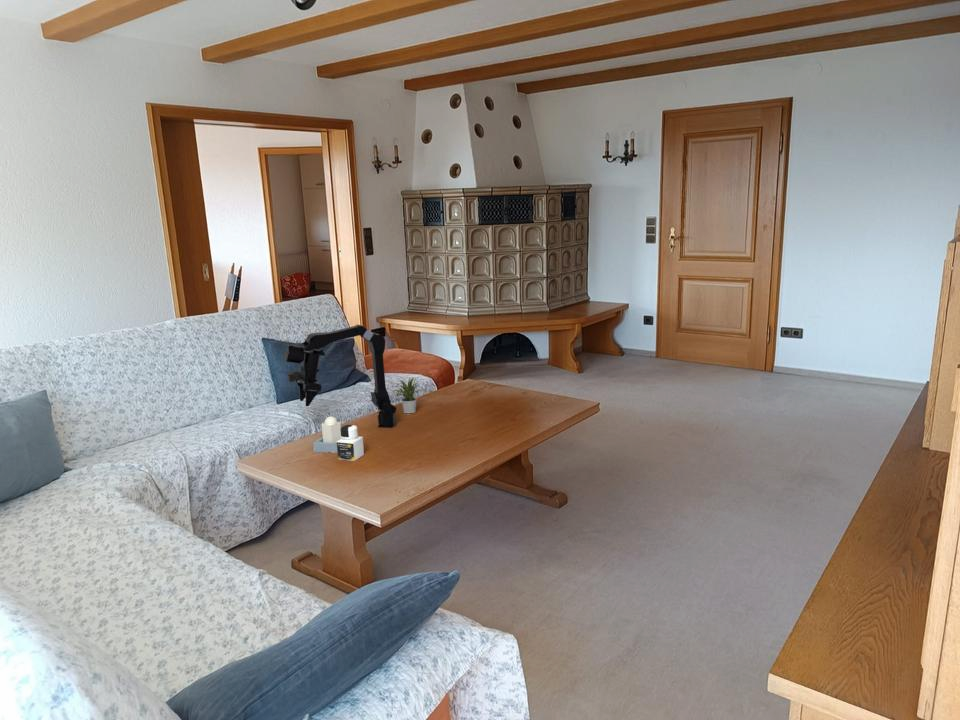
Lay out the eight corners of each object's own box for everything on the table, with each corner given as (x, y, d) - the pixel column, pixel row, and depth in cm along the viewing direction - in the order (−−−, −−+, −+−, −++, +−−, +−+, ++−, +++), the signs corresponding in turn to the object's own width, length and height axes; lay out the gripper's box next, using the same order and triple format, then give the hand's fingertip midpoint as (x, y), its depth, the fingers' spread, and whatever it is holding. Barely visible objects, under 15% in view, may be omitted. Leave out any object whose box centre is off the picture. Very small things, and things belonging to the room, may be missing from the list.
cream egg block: (333, 444, 259) (330, 414, 256) (342, 446, 256) (339, 415, 253) (323, 448, 255) (320, 417, 252) (332, 450, 252) (329, 419, 249)
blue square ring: (352, 443, 259) (351, 434, 259) (340, 453, 249) (339, 444, 248) (326, 442, 262) (325, 433, 261) (313, 451, 252) (312, 443, 251)
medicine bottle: (337, 459, 242) (334, 428, 240) (347, 453, 249) (345, 422, 246) (354, 461, 240) (352, 429, 237) (364, 454, 246) (362, 423, 244)
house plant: (398, 407, 307) (396, 373, 304) (427, 407, 305) (425, 372, 302) (390, 416, 293) (387, 380, 290) (420, 416, 291) (418, 380, 288)
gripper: (285, 358, 265) (278, 396, 266) (295, 366, 248) (288, 407, 250) (312, 362, 270) (306, 399, 271) (324, 370, 254) (317, 409, 255)
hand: (304, 403), depth 262 cm, fingers open, 9 cm apart
